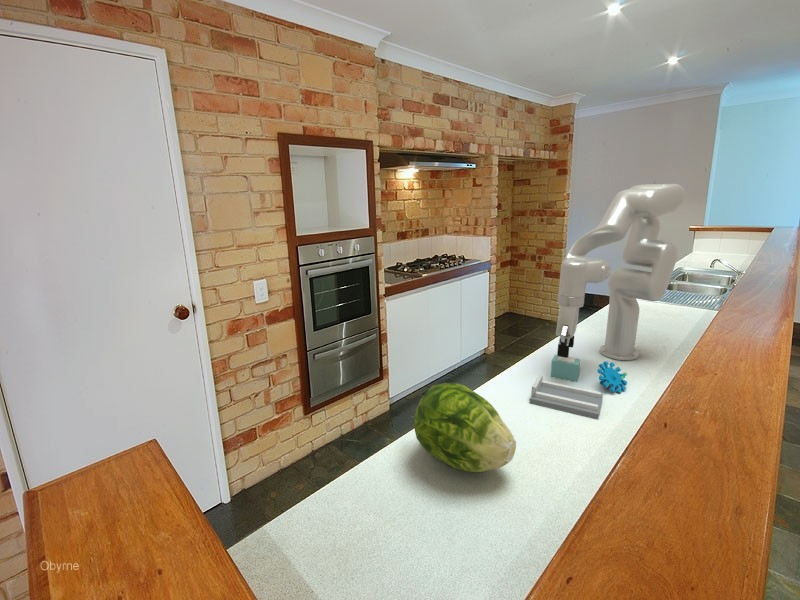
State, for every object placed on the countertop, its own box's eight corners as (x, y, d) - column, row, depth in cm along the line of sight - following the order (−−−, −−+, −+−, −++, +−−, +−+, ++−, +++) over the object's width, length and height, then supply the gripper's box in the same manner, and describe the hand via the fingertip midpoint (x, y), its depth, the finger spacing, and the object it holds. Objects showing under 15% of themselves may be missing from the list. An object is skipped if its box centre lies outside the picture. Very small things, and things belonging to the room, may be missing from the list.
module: (553, 371, 135) (554, 353, 133) (579, 375, 131) (580, 358, 129) (550, 377, 131) (551, 359, 129) (576, 382, 127) (578, 364, 125)
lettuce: (492, 509, 79) (495, 427, 74) (399, 463, 93) (396, 392, 88) (527, 460, 92) (531, 388, 87) (442, 426, 106) (441, 362, 101)
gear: (609, 392, 117) (595, 361, 121) (595, 399, 121) (582, 368, 126) (636, 390, 120) (622, 359, 125) (622, 396, 125) (608, 366, 130)
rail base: (539, 385, 126) (539, 372, 125) (602, 398, 117) (604, 384, 116) (529, 403, 116) (530, 389, 115) (598, 419, 107) (599, 404, 106)
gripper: (562, 292, 133) (558, 341, 137) (552, 305, 118) (547, 358, 123) (587, 295, 129) (581, 345, 133) (579, 308, 115) (573, 363, 119)
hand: (565, 351), depth 128 cm, fingers open, 9 cm apart
